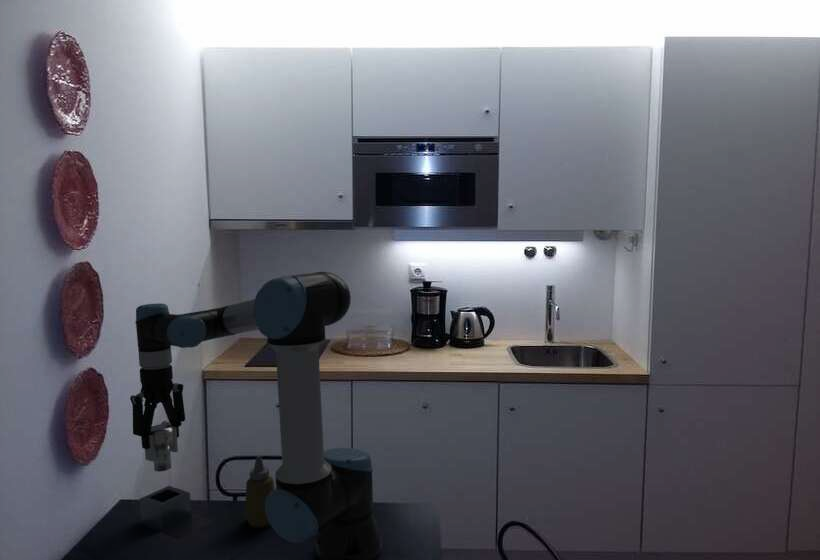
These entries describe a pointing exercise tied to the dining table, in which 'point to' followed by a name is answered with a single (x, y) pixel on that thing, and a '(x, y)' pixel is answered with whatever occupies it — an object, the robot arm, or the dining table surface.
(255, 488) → the squeeze bottle
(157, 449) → the dark grey round knob
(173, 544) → the dining table surface
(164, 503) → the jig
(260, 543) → the dining table surface
